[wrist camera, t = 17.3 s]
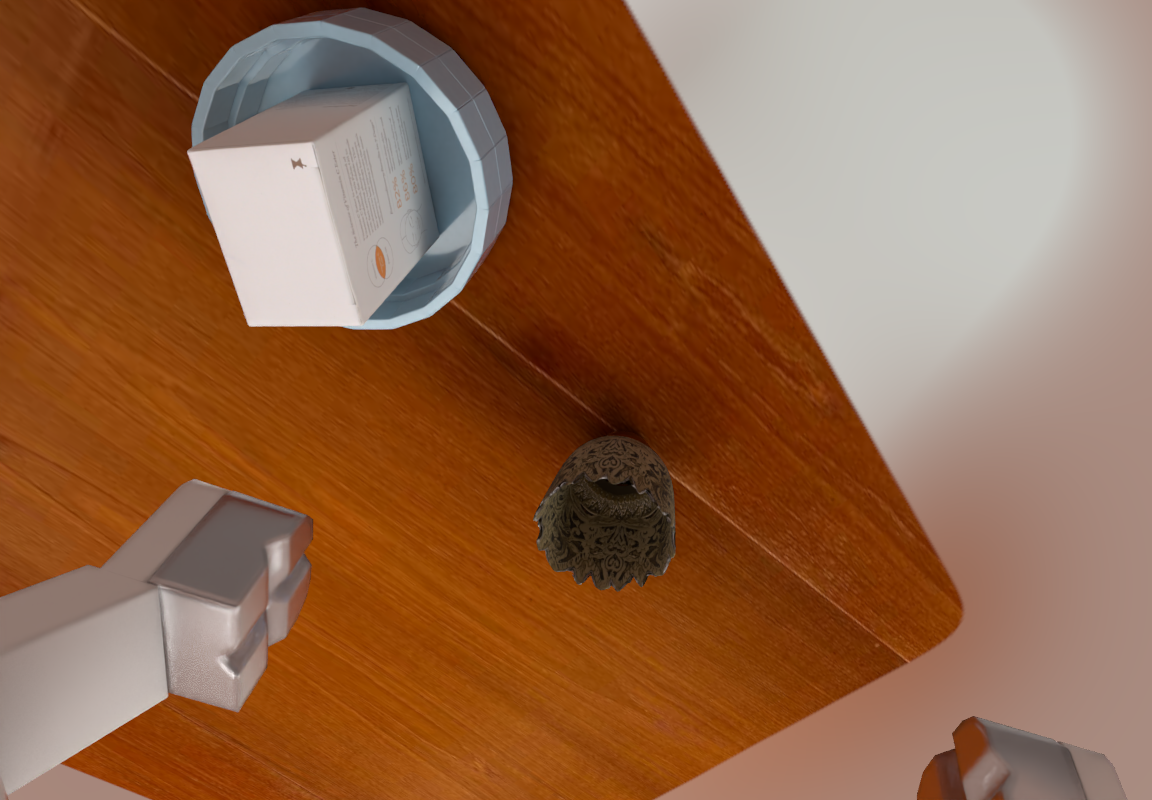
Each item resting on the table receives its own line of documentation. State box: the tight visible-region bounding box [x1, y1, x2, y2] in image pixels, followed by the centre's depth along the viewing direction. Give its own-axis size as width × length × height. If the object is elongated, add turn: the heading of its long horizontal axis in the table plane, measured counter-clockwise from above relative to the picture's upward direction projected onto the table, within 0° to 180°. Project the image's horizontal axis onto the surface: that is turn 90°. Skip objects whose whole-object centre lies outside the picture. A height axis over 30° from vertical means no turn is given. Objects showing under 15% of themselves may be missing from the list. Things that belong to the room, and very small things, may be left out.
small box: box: [187, 82, 439, 326], centre depth 38 cm, size 8×6×10 cm
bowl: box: [191, 7, 513, 329], centre depth 41 cm, size 14×14×5 cm
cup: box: [533, 431, 676, 592], centre depth 46 cm, size 8×7×8 cm
